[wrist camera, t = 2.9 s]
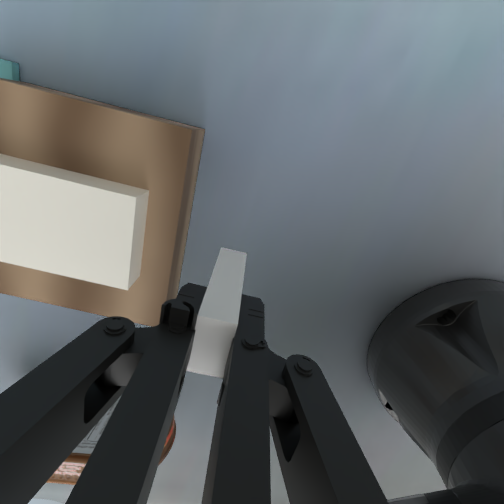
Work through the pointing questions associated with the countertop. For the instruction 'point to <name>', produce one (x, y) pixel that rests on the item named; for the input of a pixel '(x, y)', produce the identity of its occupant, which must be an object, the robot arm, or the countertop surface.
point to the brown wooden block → (113, 169)
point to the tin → (82, 452)
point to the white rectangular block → (71, 223)
